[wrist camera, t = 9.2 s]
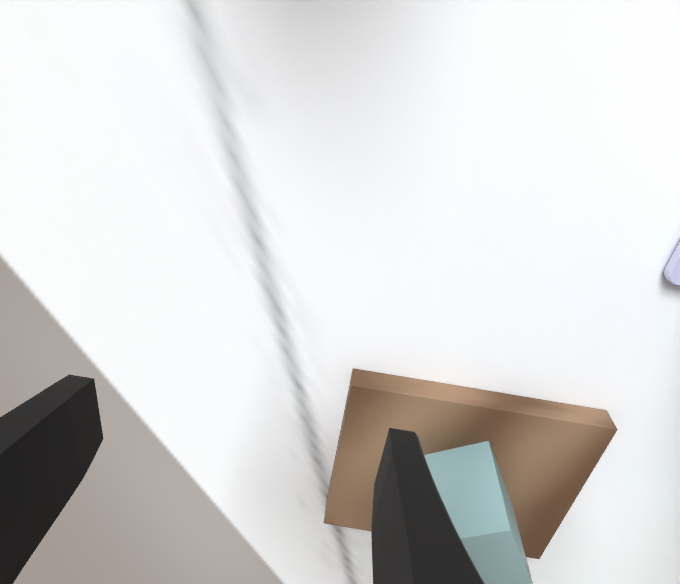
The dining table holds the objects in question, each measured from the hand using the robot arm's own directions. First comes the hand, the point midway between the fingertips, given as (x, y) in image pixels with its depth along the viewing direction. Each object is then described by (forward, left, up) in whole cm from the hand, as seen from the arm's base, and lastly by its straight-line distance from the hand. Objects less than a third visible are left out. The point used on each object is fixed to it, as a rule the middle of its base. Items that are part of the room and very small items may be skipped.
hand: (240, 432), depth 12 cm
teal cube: (-9, +10, -8) cm, 16 cm away
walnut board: (-9, +10, -9) cm, 16 cm away
